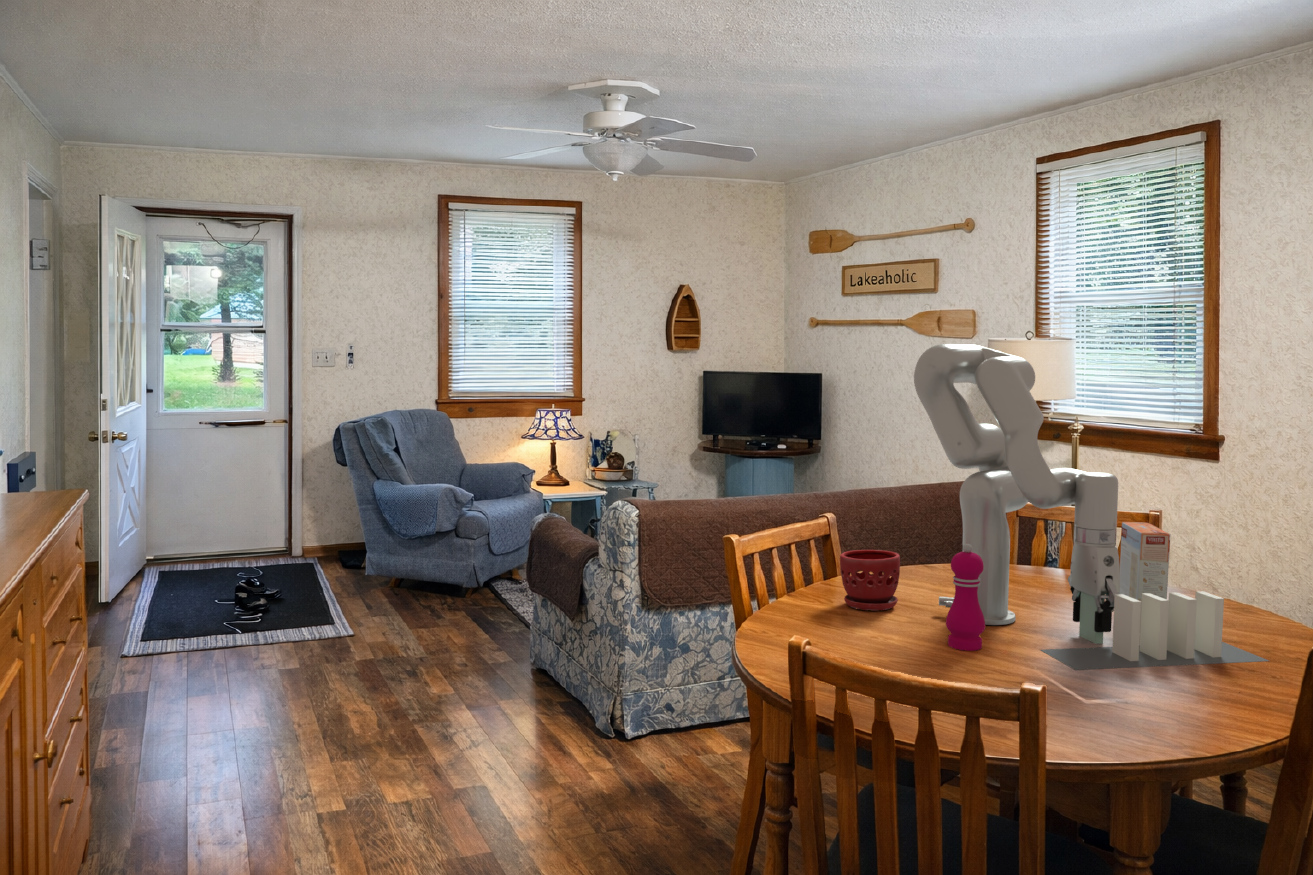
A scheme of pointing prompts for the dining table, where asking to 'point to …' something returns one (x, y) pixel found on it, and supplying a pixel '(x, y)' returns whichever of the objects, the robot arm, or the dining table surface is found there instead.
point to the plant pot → (870, 578)
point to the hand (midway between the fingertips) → (1091, 625)
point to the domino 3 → (1181, 625)
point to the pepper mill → (966, 602)
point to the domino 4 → (1209, 623)
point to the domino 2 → (1154, 626)
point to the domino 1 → (1126, 627)
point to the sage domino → (1089, 619)
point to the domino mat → (1143, 658)
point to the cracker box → (1144, 560)
